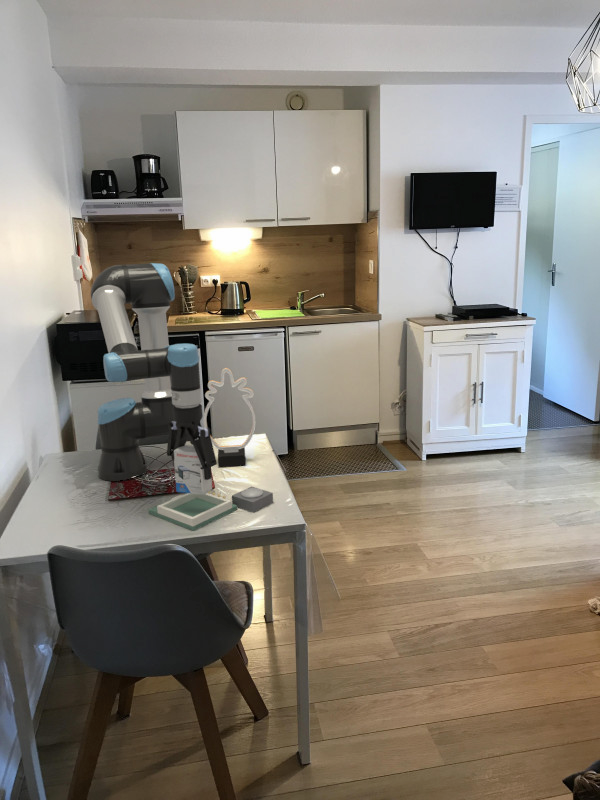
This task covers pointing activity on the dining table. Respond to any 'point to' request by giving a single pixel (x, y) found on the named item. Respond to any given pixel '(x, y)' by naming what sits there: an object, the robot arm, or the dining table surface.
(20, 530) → the dining table surface
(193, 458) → the ink box
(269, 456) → the dining table surface
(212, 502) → the board
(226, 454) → the lamp
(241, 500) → the push button
